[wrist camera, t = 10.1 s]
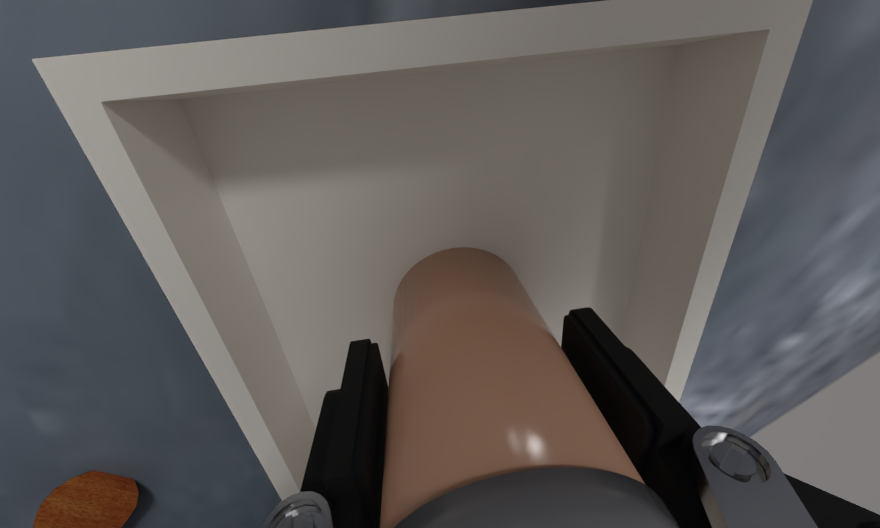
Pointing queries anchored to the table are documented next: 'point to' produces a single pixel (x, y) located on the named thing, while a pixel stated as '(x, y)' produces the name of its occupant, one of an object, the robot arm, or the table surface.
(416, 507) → the cylinder
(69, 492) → the brown purple handled piece
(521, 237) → the tray
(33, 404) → the table surface
